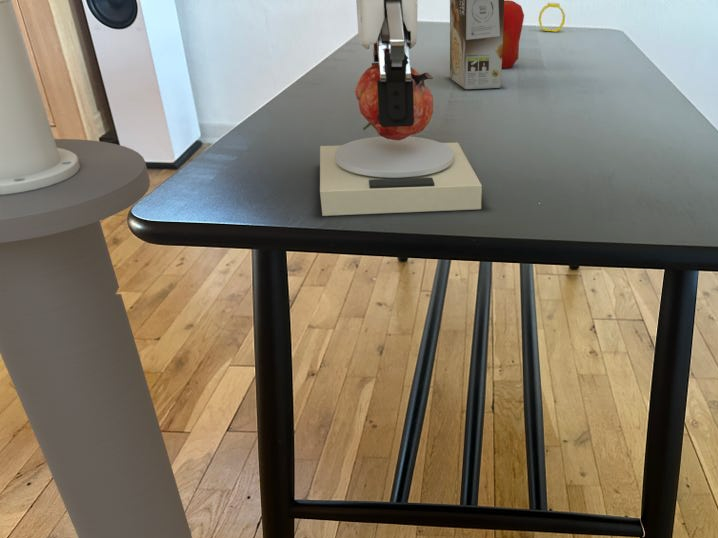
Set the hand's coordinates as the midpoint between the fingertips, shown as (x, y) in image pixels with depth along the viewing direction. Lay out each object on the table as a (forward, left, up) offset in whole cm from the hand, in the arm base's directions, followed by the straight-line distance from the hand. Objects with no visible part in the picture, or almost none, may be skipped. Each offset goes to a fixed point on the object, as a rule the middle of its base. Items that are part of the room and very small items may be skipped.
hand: (393, 113), depth 68 cm
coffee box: (+17, +47, -7) cm, 51 cm away
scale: (0, -1, -7) cm, 7 cm away
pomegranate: (0, 0, -3) cm, 3 cm away
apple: (+24, +61, -7) cm, 66 cm away
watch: (+45, +101, -7) cm, 111 cm away
